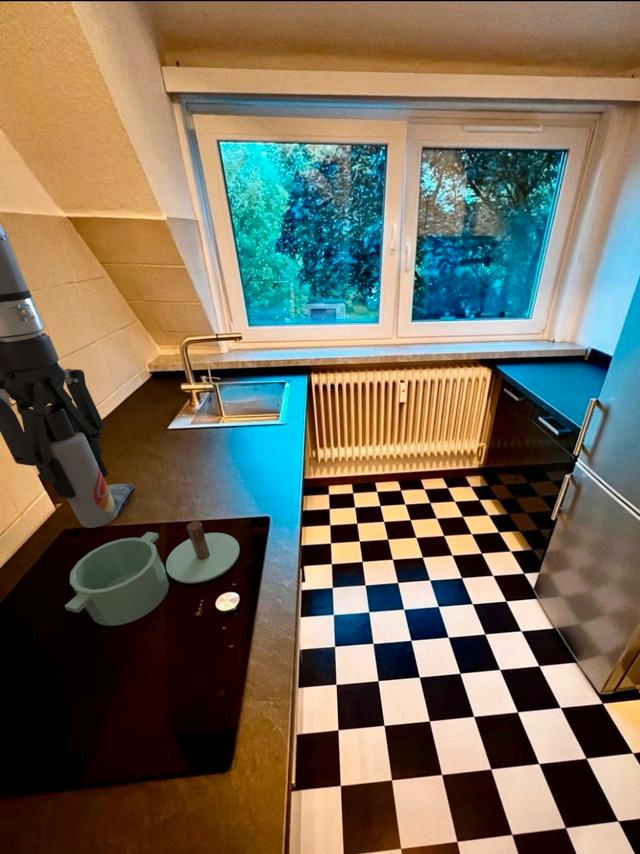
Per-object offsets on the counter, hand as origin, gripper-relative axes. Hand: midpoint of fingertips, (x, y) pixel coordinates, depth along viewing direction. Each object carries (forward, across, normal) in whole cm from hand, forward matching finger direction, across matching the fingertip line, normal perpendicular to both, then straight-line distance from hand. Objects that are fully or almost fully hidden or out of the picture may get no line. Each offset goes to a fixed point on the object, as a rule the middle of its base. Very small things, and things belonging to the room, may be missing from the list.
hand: (84, 484), depth 62 cm
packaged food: (+24, +21, +25) cm, 40 cm away
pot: (+24, -2, -1) cm, 24 cm away
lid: (+23, +10, -9) cm, 27 cm away
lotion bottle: (+7, 0, 0) cm, 7 cm away
